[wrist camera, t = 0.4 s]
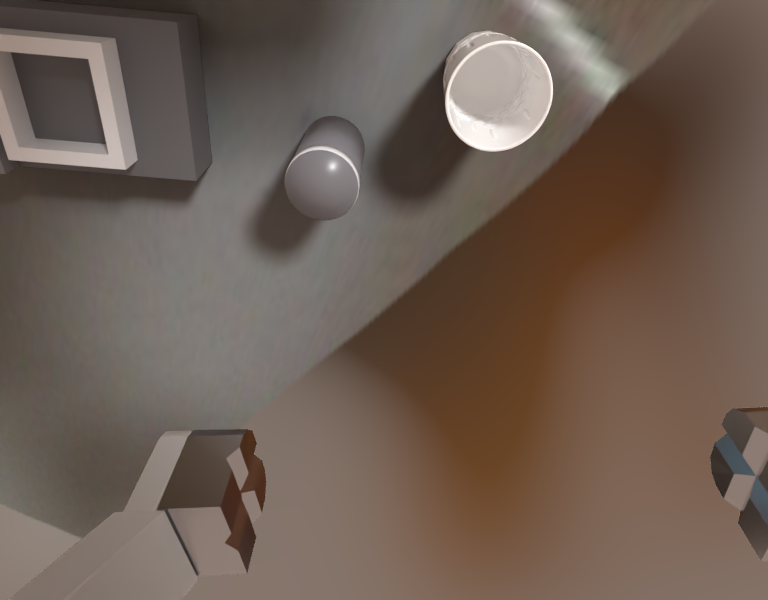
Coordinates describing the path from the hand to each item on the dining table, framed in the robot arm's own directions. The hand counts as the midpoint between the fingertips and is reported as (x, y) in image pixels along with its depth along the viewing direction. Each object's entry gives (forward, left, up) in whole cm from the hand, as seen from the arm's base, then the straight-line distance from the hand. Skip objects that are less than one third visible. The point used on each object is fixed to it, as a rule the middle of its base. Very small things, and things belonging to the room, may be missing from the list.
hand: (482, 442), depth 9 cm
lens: (+10, -7, -45) cm, 46 cm away
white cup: (+2, +6, -45) cm, 45 cm away
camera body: (+6, -29, -45) cm, 53 cm away
